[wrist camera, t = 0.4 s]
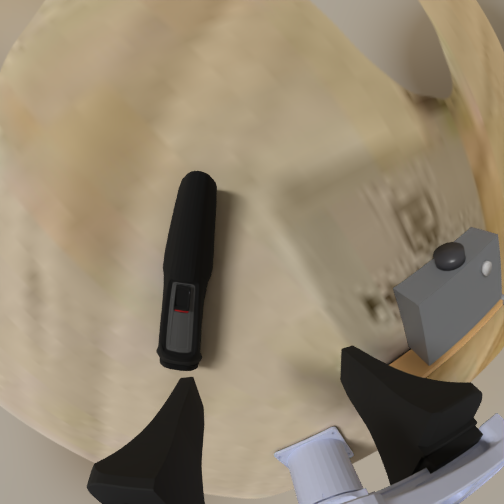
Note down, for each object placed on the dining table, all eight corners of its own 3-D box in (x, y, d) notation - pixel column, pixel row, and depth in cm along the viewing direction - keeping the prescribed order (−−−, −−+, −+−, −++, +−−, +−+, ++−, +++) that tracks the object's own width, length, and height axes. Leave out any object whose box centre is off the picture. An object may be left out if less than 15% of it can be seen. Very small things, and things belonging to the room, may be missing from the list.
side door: (485, 291, 25) (506, 303, 21) (389, 371, 25) (407, 393, 21) (484, 283, 25) (507, 294, 21) (387, 364, 25) (406, 386, 21)
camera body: (479, 286, 25) (504, 299, 20) (408, 346, 25) (432, 368, 21) (469, 218, 22) (500, 226, 18) (390, 279, 23) (419, 298, 18)
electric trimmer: (229, 177, 20) (231, 176, 17) (201, 363, 23) (199, 385, 20) (178, 170, 19) (170, 166, 16) (158, 356, 22) (151, 378, 19)
